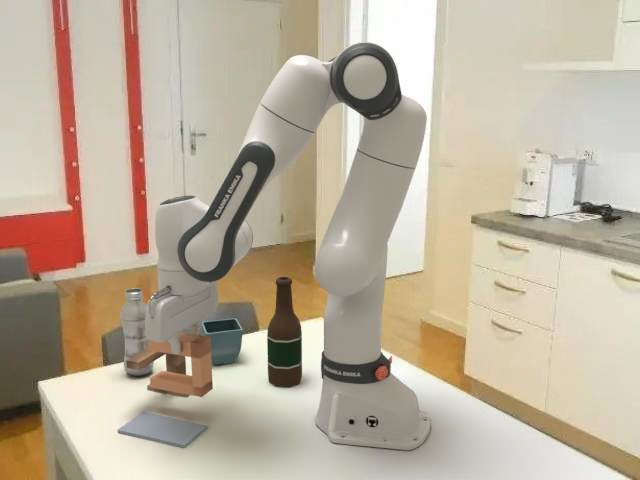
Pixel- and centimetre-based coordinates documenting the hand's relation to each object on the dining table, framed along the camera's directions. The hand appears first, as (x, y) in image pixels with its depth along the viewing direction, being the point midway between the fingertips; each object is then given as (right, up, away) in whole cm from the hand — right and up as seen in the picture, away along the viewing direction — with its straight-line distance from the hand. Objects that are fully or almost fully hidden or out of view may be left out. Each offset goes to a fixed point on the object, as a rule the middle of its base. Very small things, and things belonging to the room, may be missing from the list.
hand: (185, 347), depth 128 cm
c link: (-1, -9, +2) cm, 9 cm away
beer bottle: (+19, -11, +19) cm, 29 cm away
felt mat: (-4, -15, -3) cm, 16 cm away
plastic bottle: (-15, -10, +23) cm, 29 cm away
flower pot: (+3, -8, +30) cm, 32 cm away
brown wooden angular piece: (-7, -12, +11) cm, 18 cm away
